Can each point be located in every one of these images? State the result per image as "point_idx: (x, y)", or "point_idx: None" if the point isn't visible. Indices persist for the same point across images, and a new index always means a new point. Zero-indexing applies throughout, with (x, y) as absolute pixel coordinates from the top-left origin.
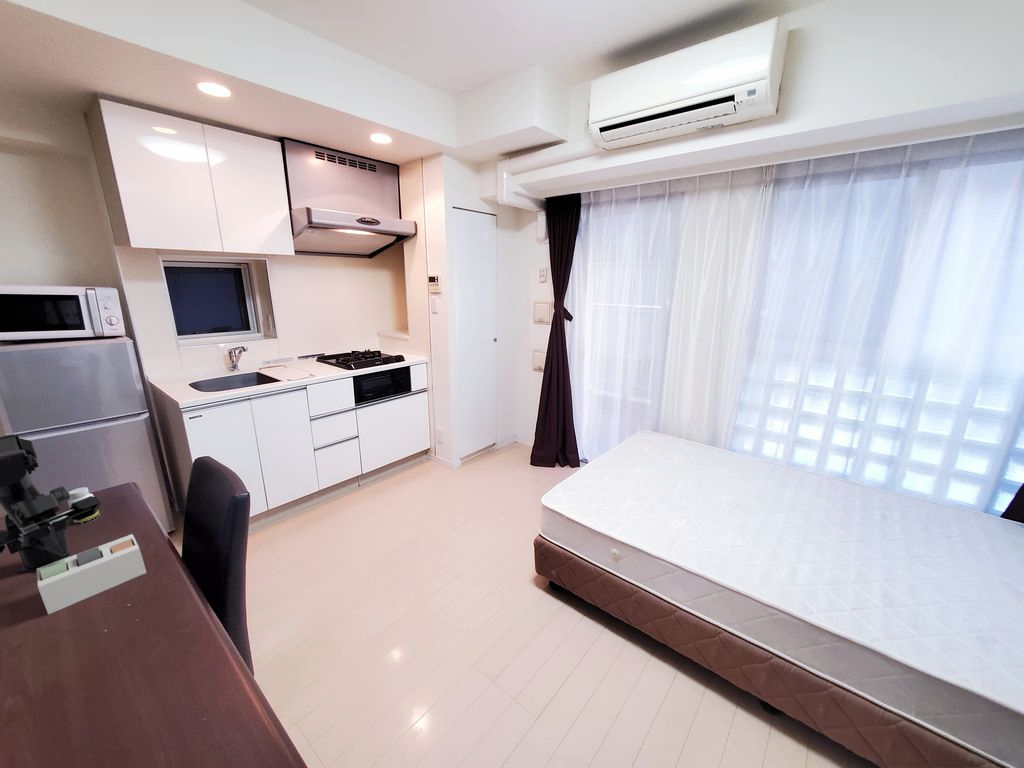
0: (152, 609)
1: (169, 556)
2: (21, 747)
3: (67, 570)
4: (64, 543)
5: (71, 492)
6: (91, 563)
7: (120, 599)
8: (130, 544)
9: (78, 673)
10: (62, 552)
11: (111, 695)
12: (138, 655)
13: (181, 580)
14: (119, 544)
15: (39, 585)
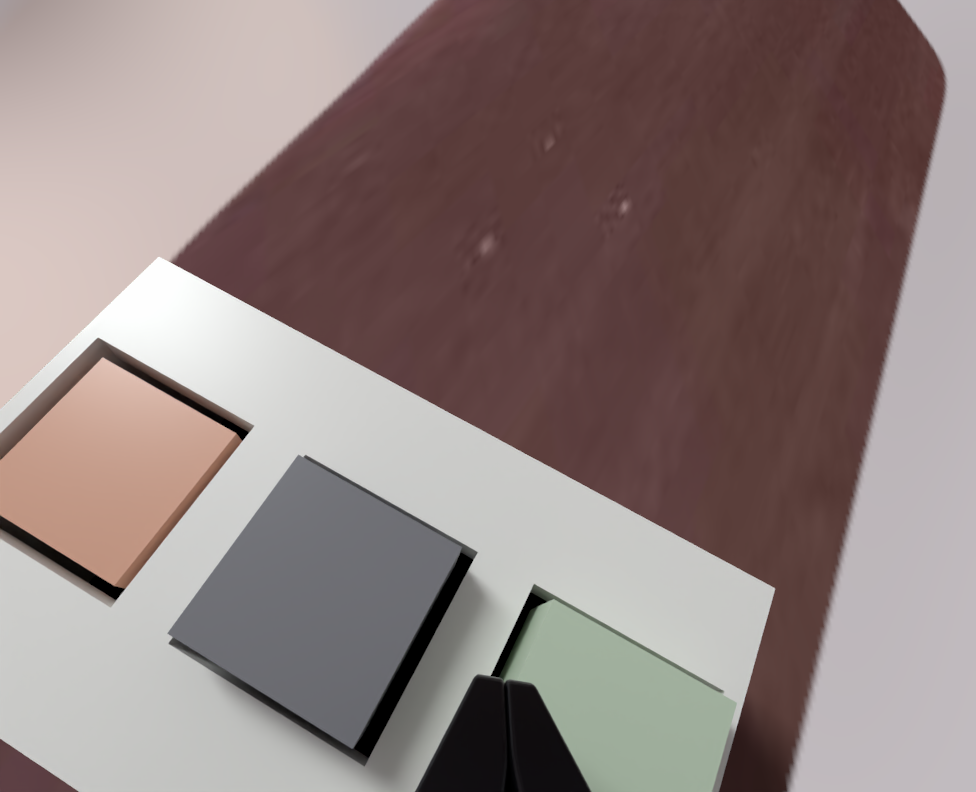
0: (490, 133)
1: None
2: (928, 71)
3: (502, 675)
4: (444, 787)
5: None
6: (410, 468)
7: (466, 318)
8: (71, 411)
9: (771, 129)
10: (531, 691)
11: (766, 4)
12: (660, 31)
13: (301, 153)
14: (53, 543)
15: (759, 605)
